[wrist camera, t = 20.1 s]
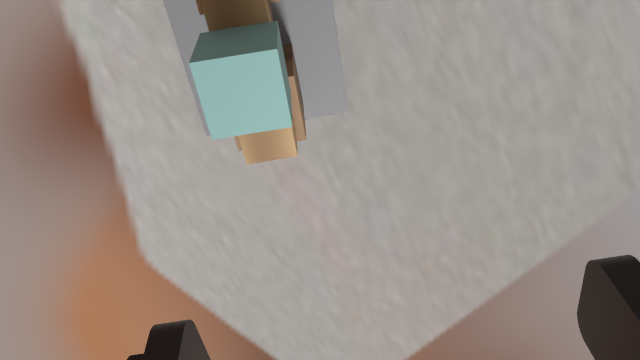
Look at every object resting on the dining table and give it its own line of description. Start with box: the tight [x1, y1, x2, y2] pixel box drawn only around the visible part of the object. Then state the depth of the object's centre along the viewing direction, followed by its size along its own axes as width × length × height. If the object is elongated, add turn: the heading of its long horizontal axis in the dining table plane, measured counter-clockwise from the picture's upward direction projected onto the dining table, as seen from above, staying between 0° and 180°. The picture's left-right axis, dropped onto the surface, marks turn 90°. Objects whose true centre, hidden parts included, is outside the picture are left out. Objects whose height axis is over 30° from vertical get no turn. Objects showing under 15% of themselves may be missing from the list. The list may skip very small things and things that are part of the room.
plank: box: [200, 0, 298, 164], centre depth 32 cm, size 4×14×3 cm, turn 9°
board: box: [163, 0, 348, 135], centre depth 39 cm, size 12×18×1 cm, turn 9°
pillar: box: [234, 44, 306, 151], centre depth 39 cm, size 5×5×6 cm
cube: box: [189, 21, 293, 140], centre depth 29 cm, size 4×4×4 cm
